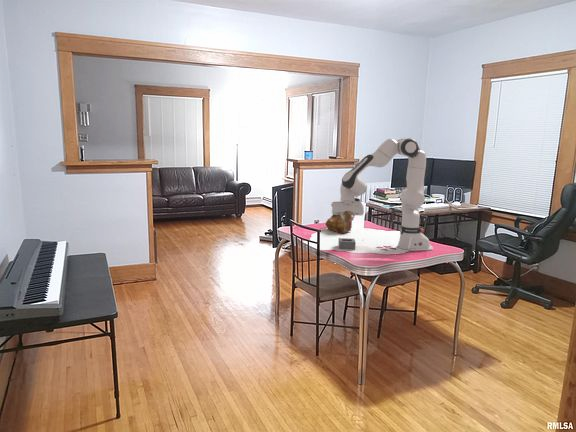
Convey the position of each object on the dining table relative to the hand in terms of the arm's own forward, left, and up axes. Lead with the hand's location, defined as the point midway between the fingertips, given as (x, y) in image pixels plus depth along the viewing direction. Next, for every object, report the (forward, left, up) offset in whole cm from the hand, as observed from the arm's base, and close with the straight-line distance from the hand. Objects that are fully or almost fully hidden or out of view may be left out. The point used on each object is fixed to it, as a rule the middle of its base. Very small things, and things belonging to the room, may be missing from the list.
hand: (348, 219), depth 271 cm
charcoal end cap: (0, -1, -18) cm, 18 cm away
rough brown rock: (+3, -56, -20) cm, 59 cm away
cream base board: (-5, -1, -20) cm, 20 cm away
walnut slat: (0, -1, -7) cm, 7 cm away
